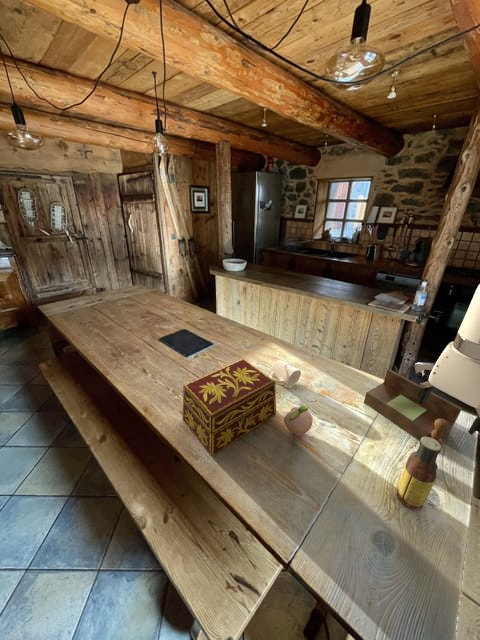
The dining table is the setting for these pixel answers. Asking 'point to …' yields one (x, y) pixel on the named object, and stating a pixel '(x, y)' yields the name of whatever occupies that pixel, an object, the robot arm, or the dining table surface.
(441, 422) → the mortar and pestle
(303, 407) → the decorative fruit
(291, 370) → the mug
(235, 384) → the decorative box
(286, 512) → the dining table surface
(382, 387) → the shelf
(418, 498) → the sauce bottle
